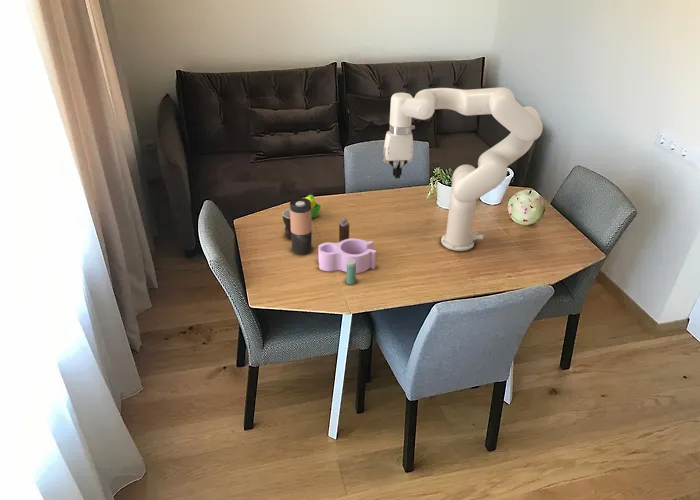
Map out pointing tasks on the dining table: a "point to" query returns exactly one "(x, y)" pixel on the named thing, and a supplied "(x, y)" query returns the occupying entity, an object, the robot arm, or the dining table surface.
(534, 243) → the dining table surface
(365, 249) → the clip
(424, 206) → the dining table surface
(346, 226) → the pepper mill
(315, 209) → the fruit basket
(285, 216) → the coffee mug
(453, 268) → the dining table surface
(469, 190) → the robot arm
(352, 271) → the green cylinder
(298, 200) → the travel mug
